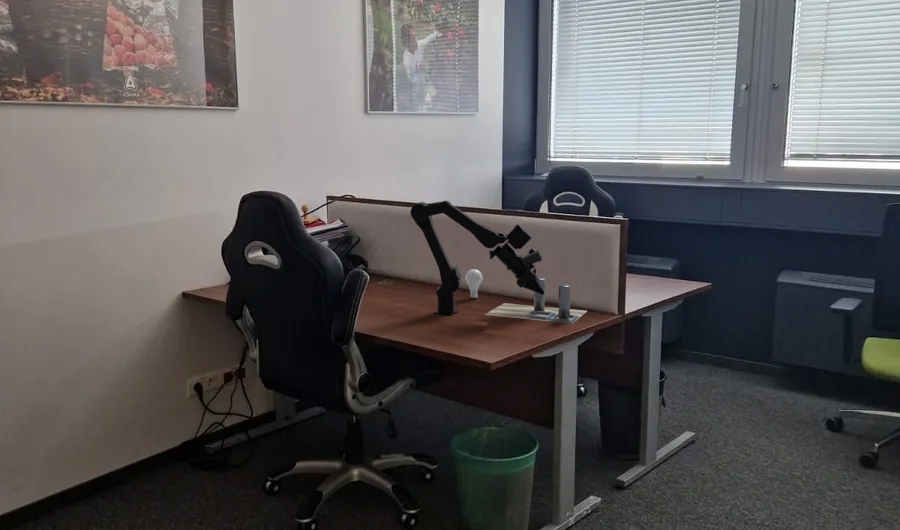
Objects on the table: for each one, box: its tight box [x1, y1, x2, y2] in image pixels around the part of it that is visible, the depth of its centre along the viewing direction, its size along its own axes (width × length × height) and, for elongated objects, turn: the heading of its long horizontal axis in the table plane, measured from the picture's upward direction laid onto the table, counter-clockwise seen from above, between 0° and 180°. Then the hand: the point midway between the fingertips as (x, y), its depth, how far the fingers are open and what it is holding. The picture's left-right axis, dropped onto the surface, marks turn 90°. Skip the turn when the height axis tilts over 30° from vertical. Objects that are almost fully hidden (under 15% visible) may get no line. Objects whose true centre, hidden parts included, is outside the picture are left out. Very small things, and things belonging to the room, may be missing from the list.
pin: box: [533, 277, 546, 311], centre depth 252 cm, size 4×4×11 cm
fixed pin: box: [558, 284, 571, 320], centre depth 241 cm, size 4×4×11 cm
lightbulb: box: [464, 268, 483, 299], centre depth 278 cm, size 6×6×11 cm
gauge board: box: [484, 302, 588, 324], centre depth 251 cm, size 18×30×2 cm, turn 65°
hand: (543, 291), depth 252 cm, fingers open, 6 cm apart
